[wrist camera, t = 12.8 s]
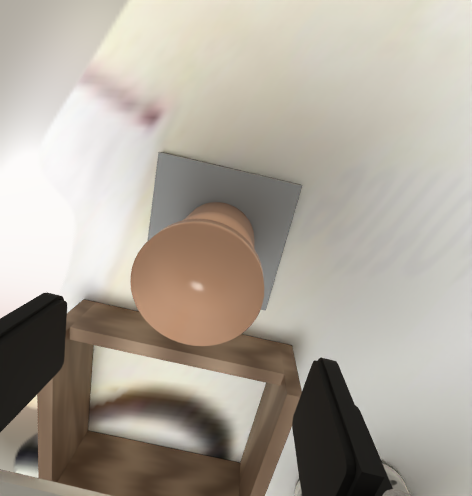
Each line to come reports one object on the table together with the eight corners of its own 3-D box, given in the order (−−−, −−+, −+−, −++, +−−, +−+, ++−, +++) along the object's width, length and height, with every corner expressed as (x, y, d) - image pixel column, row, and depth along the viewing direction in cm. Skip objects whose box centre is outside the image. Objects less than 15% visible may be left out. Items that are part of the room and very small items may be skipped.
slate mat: (300, 184, 22) (302, 185, 21) (265, 305, 25) (265, 310, 24) (161, 152, 21) (158, 152, 21) (145, 279, 25) (142, 282, 24)
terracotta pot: (268, 207, 22) (280, 242, 13) (248, 285, 24) (246, 357, 15) (182, 187, 21) (137, 209, 13) (170, 267, 24) (124, 330, 15)
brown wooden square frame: (291, 345, 26) (303, 397, 21) (248, 472, 32) (247, 540, 26) (83, 299, 26) (36, 339, 20) (76, 436, 32) (38, 497, 26)
